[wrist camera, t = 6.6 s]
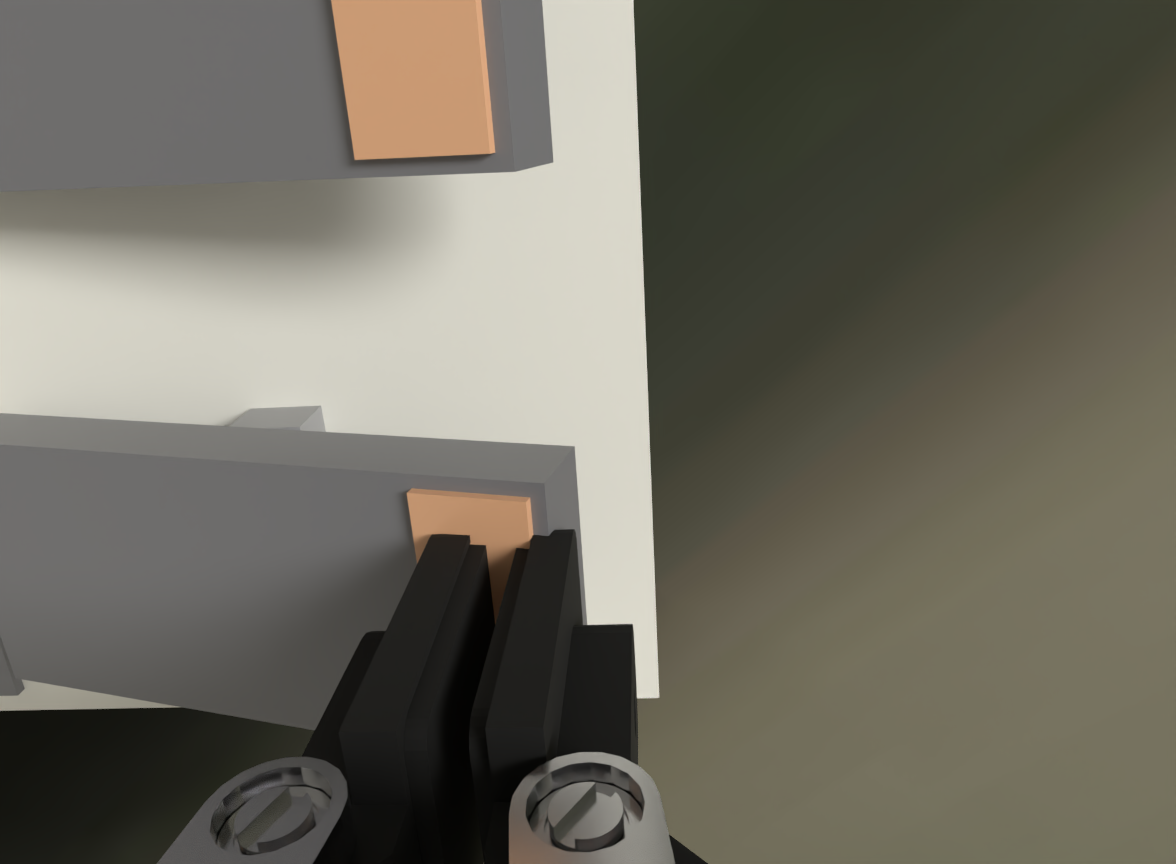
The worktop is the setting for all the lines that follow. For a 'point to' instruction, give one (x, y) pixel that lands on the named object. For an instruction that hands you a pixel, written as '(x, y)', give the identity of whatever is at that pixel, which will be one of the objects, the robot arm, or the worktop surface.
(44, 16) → the rocker
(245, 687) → the rocker
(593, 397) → the switch unit
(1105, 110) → the worktop surface
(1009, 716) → the worktop surface
